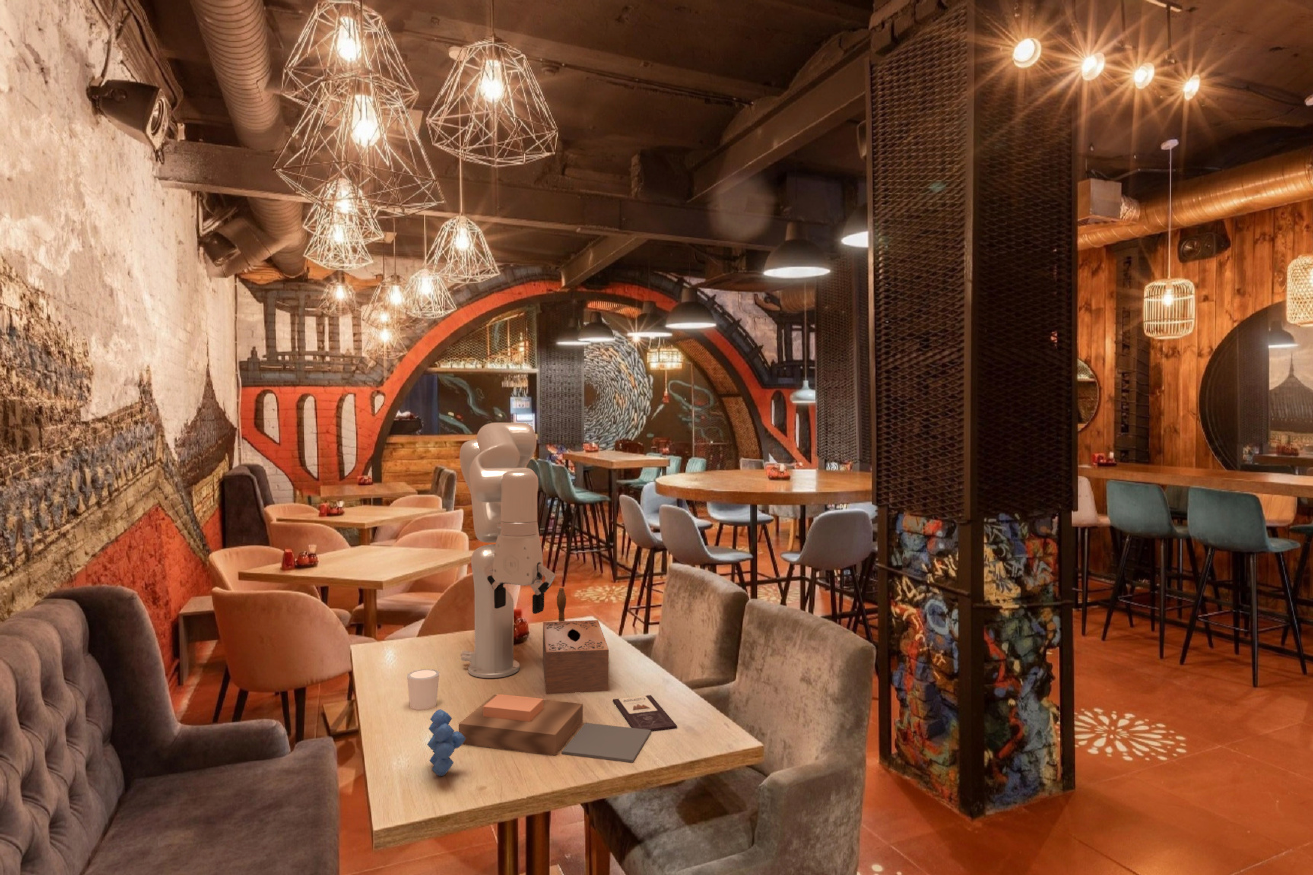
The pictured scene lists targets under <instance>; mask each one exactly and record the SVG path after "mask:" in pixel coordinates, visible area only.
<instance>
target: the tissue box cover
mask: <svg viewBox="0 0 1313 875" xmlns="http://www.w3.org/2000/svg"><path fill="white" fill-rule="evenodd" d="M609 649H610V648H609V646H608V644H607V641H606V638H605V635H604V632H603V630H602V628H601V624H600V622H599V619H591V620H565V621H559V620H558V621H543V622H542V664H543V675H544V687H545V688H544V689H545V694H546V695H555V694H556V695H558V694H572V693H573V694H576V693H575V692H580V693H597V692H609V684H610V683H609V678H610V676H609V671H610V670H609V668H610V666H609V664H610V661H609V660H610V657H609V656H610V653H609V652H610V651H609Z"/></svg>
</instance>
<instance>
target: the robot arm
mask: <svg viewBox="0 0 1313 875" xmlns="http://www.w3.org/2000/svg"><path fill="white" fill-rule="evenodd" d="M536 449H537V435H536V433H535V430H534V428H533V427H532V426H531V425H530V424H528V423H527V422H526V423H525V422H489V423H486V424H484V425H483V426H481V427H480V428H479V430H478V432H477V434H476V439H475V438H474V439H470V440H468V441H464V443H462V445H461V447H460V449H459V464H460V470H461V474H462V476H463V479H464V481H465V483H466V486H467V488H468V490H469V493H470V496H471V510H472V519H473V520H472V521H473V529H474V534H475V537H476V539H477V540H478V541H480V542H481V543H488V544H485V545H482V546H479V547H477V548H476V549H474V551H472V553H471V554H472V555H471V560H470V564H471V571H472V572H471V573H472V579H473V588H474V589H473V590H474V650H473V651H470V650H465V649H464V650H462V651H461V653H460V660H461V661H464V662H469V663H470V664H469V665H468V667H467V672H468V673H469V675H471V676H473V677H476V678H481V679H482V678H483V679H498V678H504V677H508V676H511V675H514V674H516V673H517V672H519V671H520V668H521V667H520V662H518V661H517V660H516V659H514V626H515V625H514V624H515V622H514V615H515V614H514V612H515V610H514V606H515V605H514V598H513V596H512V594H511V592H510V591H509V590H508V589H507V588H506V587H505V585H514V586H524V587H525V586H527V587H528V586H530V588H531V589H532V591H533V592H534V594H532V596H531V597H532V599H531V600H532V602H531V603H532V606H531V607H532V614H533V615H536V614H540V613H542V612H544V608H545V593H547V591H548V590H549V589H550V588H551V586H552V583H553V581H554V580H555V577H556V574H555V573H554V572H553V571H552V570H550V569H549V568H548V567H546V566H545V565H544V559H543V551H542V550H543V549H542V542H541V538H540V533H539V525H538V491H539V478H538V475H537V474H536V473H535V471H534V470H532V469H531V468H529V467H527V466H528V465H529V462H530V461H531V459H532V458H533V456H534V454H535V451H536ZM490 543H491V544H490ZM543 577H545V579H544V581H543Z"/></svg>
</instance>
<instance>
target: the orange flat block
mask: <svg viewBox="0 0 1313 875" xmlns="http://www.w3.org/2000/svg"><path fill="white" fill-rule="evenodd" d="M496 695H497V696H496V697H494V698H493V699H492V700H491V701H489V702H488V703H487V704H486V705H485V706H483V716H485V717H493V718H502V719H511V720H520V721H529V722H530V721H531V720H532V719H533V718H534V717H535V716H536V715H537V714H538V713H539V712H540V711H541V710H542V709H543V700H544V698H539V697H538V698H537V697H530V696H521V695H519V696H518V695H511V694H501V693H500V694H499V693H498V694H496Z"/></svg>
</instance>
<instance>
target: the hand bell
mask: <svg viewBox="0 0 1313 875" xmlns="http://www.w3.org/2000/svg"><path fill="white" fill-rule="evenodd" d="M565 592H566V591H565V589H564V588H563V587H559V588H558V591H557V595H556V605H557V608H558V610H557V611H558V618H557V619H558V621H566V620H565V618H566V617H565V609H566V605H567V595H566V593H565Z"/></svg>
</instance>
